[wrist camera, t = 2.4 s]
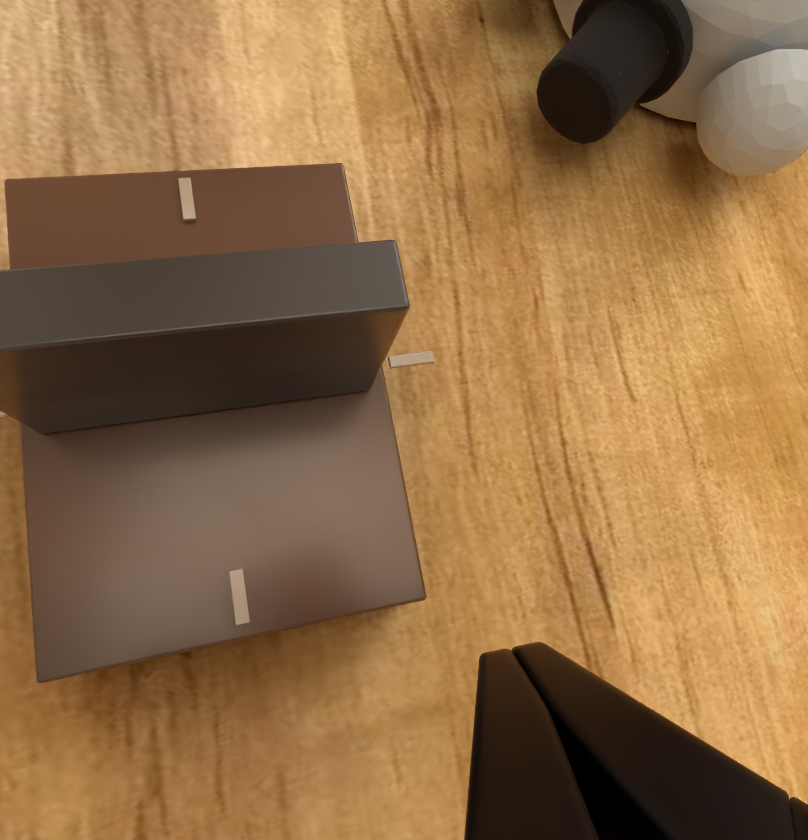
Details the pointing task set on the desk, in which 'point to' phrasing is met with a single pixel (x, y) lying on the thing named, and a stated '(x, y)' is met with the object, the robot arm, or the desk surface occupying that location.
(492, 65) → the desk surface
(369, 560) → the dial panel
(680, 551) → the desk surface
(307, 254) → the dial pointer
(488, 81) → the desk surface
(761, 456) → the desk surface
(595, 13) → the figurine
